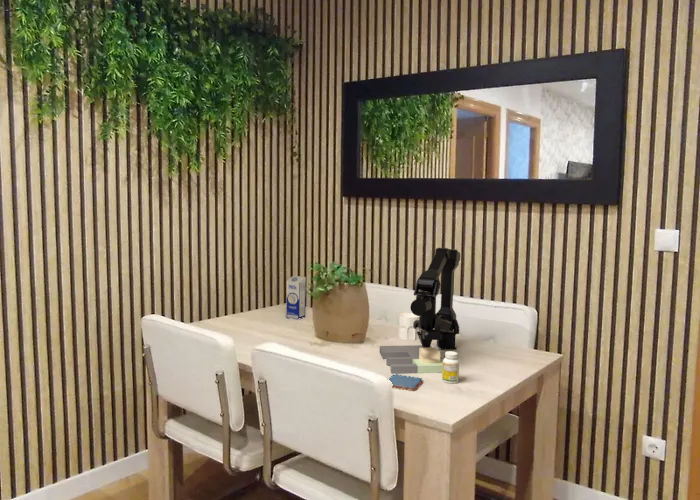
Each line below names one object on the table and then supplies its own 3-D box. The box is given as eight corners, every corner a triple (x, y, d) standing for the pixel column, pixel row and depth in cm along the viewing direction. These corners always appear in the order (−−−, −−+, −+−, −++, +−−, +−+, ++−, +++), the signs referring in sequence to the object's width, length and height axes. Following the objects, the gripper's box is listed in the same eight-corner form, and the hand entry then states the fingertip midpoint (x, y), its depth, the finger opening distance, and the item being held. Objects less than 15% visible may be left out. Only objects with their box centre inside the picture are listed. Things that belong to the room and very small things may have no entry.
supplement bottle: (453, 385, 187) (454, 356, 186) (439, 381, 191) (439, 353, 190) (461, 381, 191) (462, 352, 190) (447, 377, 195) (448, 349, 194)
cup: (412, 342, 239) (413, 318, 238) (392, 338, 245) (392, 315, 244) (424, 337, 247) (425, 314, 246) (404, 333, 253) (405, 311, 252)
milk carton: (305, 316, 283) (306, 276, 281) (298, 319, 277) (299, 278, 275) (293, 315, 286) (293, 275, 284) (286, 318, 280) (286, 277, 278)
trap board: (430, 351, 226) (430, 345, 226) (448, 372, 200) (448, 365, 200) (379, 352, 224) (379, 345, 223) (391, 373, 198) (391, 366, 198)
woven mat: (415, 393, 180) (415, 387, 180) (383, 388, 185) (383, 382, 184) (424, 383, 190) (424, 377, 190) (393, 378, 194) (393, 372, 194)
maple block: (435, 358, 208) (435, 347, 208) (439, 363, 202) (440, 352, 202) (419, 358, 207) (419, 347, 207) (423, 363, 202) (423, 352, 201)
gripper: (457, 316, 199) (455, 360, 201) (442, 305, 218) (441, 345, 219) (425, 316, 198) (424, 360, 200) (413, 305, 216) (412, 346, 218)
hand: (426, 352), depth 209 cm, fingers closed
